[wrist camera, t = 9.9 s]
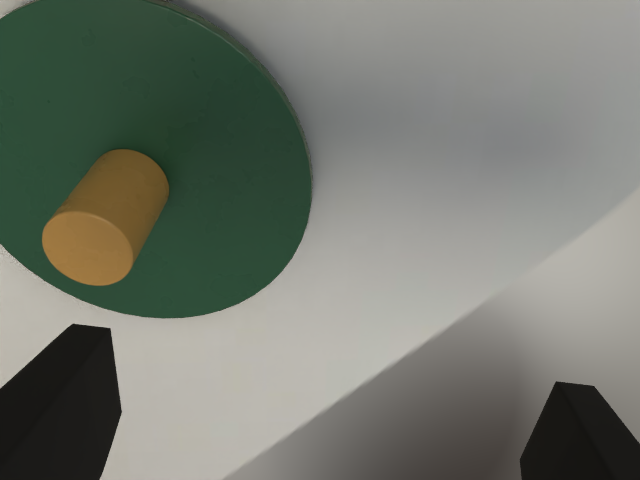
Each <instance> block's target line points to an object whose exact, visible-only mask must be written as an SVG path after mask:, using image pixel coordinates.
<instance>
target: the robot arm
mask: <svg viewBox="0 0 640 480" xmlns="http://www.w3.org/2000/svg"><path fill="white" fill-rule="evenodd" d="M121 413H122V410H121V403H120V396H119V388H118V381H117V374H116V366H115V359H114V351H113V344H112V337H111V329H110V328H104V327H95V326H87V325H79V324H72V325H71V326H69V327H68V328H67V329H66V330H64V331H63V332H62V333H61V334H60V335H59V336H58V337H57V338H56V339H54V340H53V341H52V342H51V343H50V344H49V345H48V346H47V347H46V348H45V349H44V350H42V351H41V352H40V353H39V354H38V355H37V356H36V357H35V358H34V359H33V360H32V361H30V362H29V363H28V364H27V365H26V366H25V367H24V368H23V369H22V370H21V371H19V372H18V373H17V374H16V375H15V376H14V377H13V378H12V379H10V380H9V381H8V382H7V383H6V384H5V385H4V386H3V387H2V388H0V480H99V479H100V477H101V475H102V472H103V470H104V467H105V464H106V461H107V457H108V454H109V451H110V448H111V445H112V442H113V439H114V436H115V432H116V429H117V426H118V423H119V419H120V416H121ZM520 467H521V476H522V480H640V444H639V442H638V441H637V440H636V439H635V437H634V436H633V435H632V433H631V432H630V431H629V430H628V428H627V427H626V426H625V425H624V423H623V422H622V421H621V419H620V418H619V417H618V416H617V414H616V413H615V412H614V411H613V409H612V408H611V407H610V406H609V404H608V403H607V402H606V400H605V399H604V398H603V397H602V395H601V394H600V393H599V392H598V390H597V389H596V388H595V387H594V386H590V385H582V384H573V383H565V382H556V383H555V385H554V387H553V389H552V391H551V393H550V395H549V398H548V400H547V402H546V404H545V406H544V408H543V411H542V413H541V415H540V417H539V419H538V421H537V423H536V426H535V428H534V430H533V432H532V435H531V436H530V439H529V441H528V443H527V445H526V447H525V450H524V452H523V454H522V456H521V458H520Z"/></svg>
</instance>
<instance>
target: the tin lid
mask: <svg viewBox="0 0 640 480" xmlns="http://www.w3.org/2000/svg"><path fill="white" fill-rule="evenodd" d="M312 181H313V176H312V168H311V159H310V153H309V150H308V146H307V142H306V138H305V135H304V132H303V130H302V127H301V125H300V122H299V120H298V118H297V115H296V113H295V111H294V109H293V107H292V106H291V104H290V102H289V100H288V99H287V97H286V95H285V94H284V92H283V90H282V89H281V87H280V86H279V85H278V84H277V82H276V81H275V80H274V78H273V77H272V76H271V74H270V73H269V72H268V70H267V69H266V68H265V67H264V66H263V65H262V64H261V63H260V62H259V61H258V60H257V59H256V58H255V57H254V56H253V55H252V54H251V53H250V52H249V51H248V50H247V49H246V48H245V47H244V46H242V45H241V44H240V43H239V42H237V41H236V40H235V39H234V38H232V37H231V36H230V35H229V34H227V33H226V32H225V31H223V30H222V29H220V28H218V27H217V26H215V25H214V24H212V23H210V22H209V21H207V20H206V19H204V18H202V17H201V16H199V15H197V14H194V13H192V12H190V11H188V10H186V9H184V8H182V7H179V6H177V5H175V4H172V3H169V2H166V1H163V0H35V1H32V2H30V3H28V4H26V5H23V6H21V7H19V8H17V9H15V10H13V11H12V12H10V13H9V14H7V15H5V16H4V17H2V18H1V19H0V244H1V245H2V246H3V247H4V248H5V249H6V250H7V251H8V252H9V253H10V254H11V255H12V256H13V257H14V258H16V259H17V260H18V261H19V262H20V263H22V264H23V265H24V266H25V267H26V268H27V269H29V270H30V271H32V272H33V273H35V274H36V275H37V276H39V277H40V278H42V279H43V280H44V281H46V282H48V283H49V284H51V285H53V286H55V287H56V288H58V289H60V290H62V291H63V292H65V293H67V294H69V295H72V296H74V297H76V298H78V299H80V300H82V301H85V302H88V303H90V304H93V305H96V306H99V307H101V308H104V309H108V310H112V311H116V312H119V313H123V314H129V315H135V316H141V317H151V318H185V317H193V316H200V315H205V314H209V313H213V312H217V311H221V310H223V309H226V308H228V307H231V306H234V305H236V304H239V303H240V302H242V301H244V300H246V299H248V298H250V297H252V296H253V295H255V294H256V293H258V292H259V291H260V290H262V289H263V288H264V287H266V286H267V285H268V284H270V283H271V282H272V281H273V280H274V279H275V278H276V277H277V276H278V275H279V274H280V273H281V272H282V271H283V269H284V268H285V267H286V265H287V264H288V263H289V261H290V260H291V259H292V257H293V255H294V254H295V252H296V250H297V248H298V246H299V244H300V242H301V240H302V237H303V235H304V232H305V229H306V226H307V223H308V218H309V212H310V207H311V201H312Z"/></svg>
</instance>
